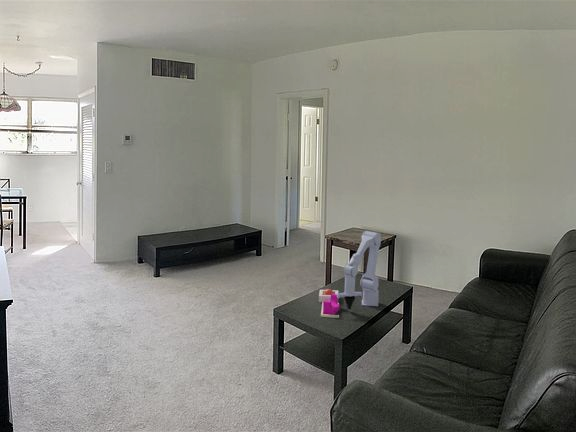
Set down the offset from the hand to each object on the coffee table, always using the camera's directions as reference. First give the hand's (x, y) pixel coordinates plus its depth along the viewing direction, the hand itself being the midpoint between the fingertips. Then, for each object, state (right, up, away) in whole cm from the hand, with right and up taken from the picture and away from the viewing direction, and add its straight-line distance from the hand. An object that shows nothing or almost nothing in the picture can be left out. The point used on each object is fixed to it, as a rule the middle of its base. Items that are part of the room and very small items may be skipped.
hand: (348, 308), depth 268 cm
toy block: (-9, -2, +2) cm, 10 cm away
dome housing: (-10, +2, +20) cm, 23 cm away
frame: (-10, -2, +1) cm, 10 cm away
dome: (-10, +3, +20) cm, 23 cm away
